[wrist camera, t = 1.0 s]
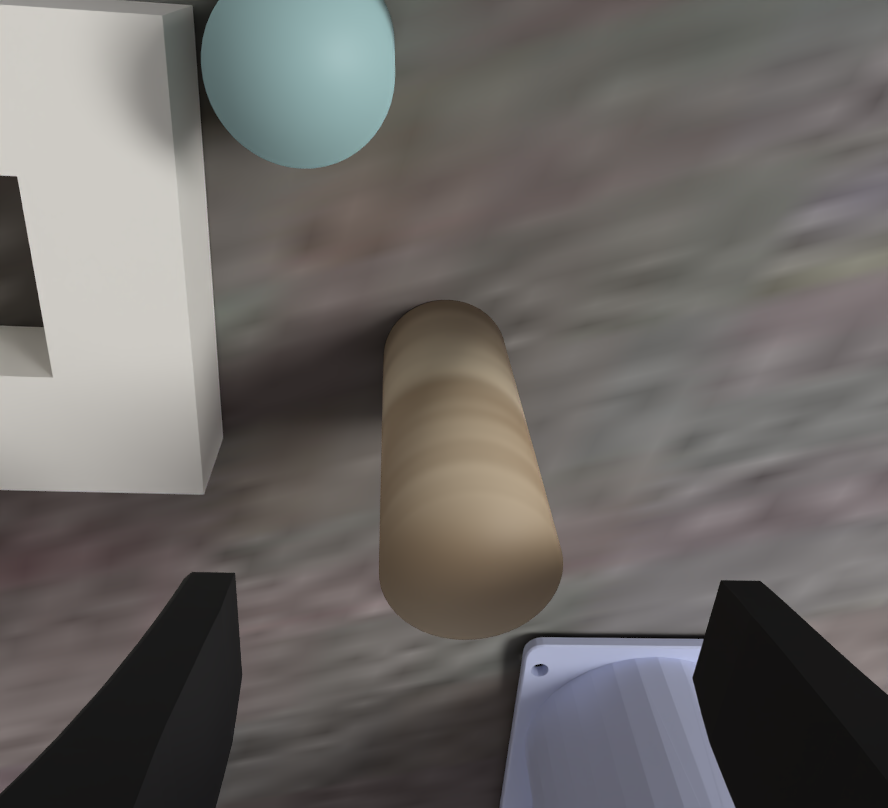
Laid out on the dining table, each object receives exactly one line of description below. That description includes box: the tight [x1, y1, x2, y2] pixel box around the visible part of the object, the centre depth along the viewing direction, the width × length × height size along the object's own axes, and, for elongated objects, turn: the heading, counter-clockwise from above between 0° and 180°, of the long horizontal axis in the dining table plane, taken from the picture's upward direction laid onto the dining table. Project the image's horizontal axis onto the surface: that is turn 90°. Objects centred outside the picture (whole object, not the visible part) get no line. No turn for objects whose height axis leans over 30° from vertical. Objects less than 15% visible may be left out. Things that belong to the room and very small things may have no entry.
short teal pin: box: [201, 0, 395, 168], centre depth 15 cm, size 3×3×4 cm
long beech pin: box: [379, 300, 563, 640], centre depth 17 cm, size 3×3×8 cm
